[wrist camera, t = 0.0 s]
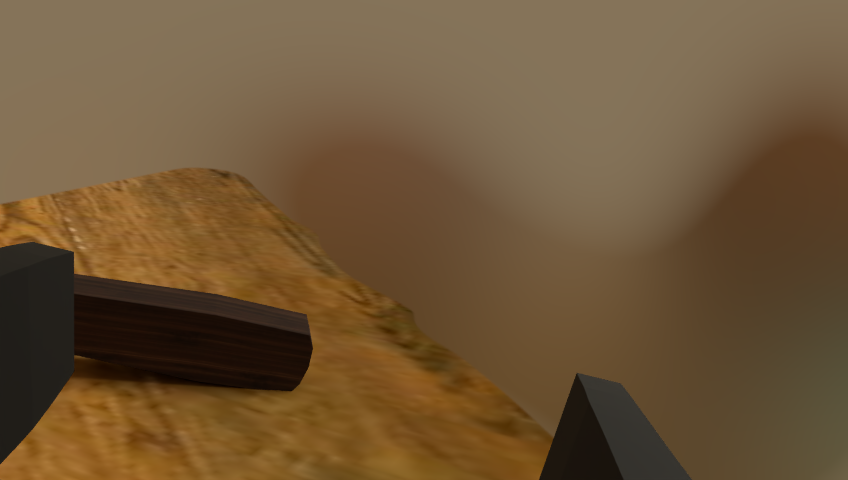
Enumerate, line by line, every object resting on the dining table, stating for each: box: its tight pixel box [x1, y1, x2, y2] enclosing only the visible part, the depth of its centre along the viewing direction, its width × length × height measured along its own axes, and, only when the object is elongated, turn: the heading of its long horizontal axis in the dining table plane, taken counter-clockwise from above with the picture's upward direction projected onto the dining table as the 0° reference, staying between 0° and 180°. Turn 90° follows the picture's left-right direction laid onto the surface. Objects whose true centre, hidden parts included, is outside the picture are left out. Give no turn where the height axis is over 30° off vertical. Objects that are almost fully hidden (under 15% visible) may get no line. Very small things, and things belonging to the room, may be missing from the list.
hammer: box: [74, 274, 313, 391], centre depth 44 cm, size 5×11×30 cm
